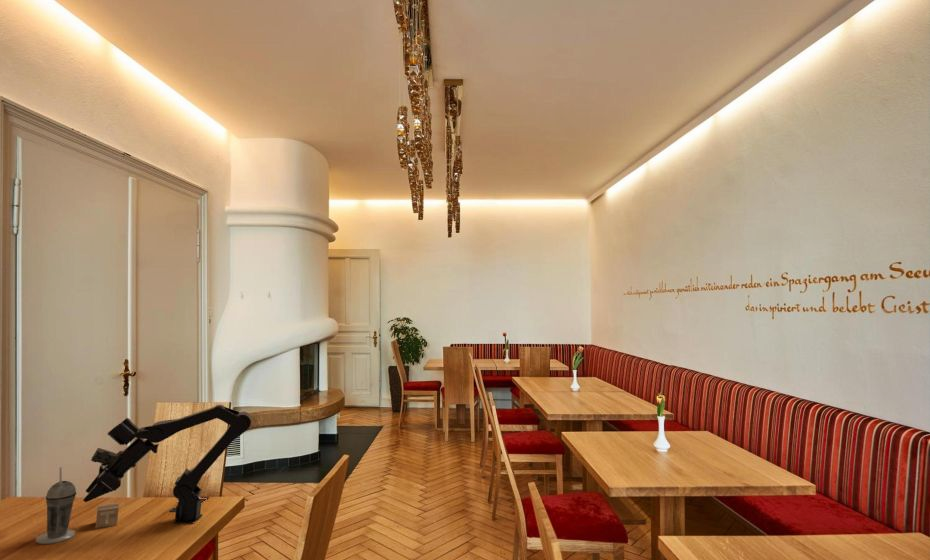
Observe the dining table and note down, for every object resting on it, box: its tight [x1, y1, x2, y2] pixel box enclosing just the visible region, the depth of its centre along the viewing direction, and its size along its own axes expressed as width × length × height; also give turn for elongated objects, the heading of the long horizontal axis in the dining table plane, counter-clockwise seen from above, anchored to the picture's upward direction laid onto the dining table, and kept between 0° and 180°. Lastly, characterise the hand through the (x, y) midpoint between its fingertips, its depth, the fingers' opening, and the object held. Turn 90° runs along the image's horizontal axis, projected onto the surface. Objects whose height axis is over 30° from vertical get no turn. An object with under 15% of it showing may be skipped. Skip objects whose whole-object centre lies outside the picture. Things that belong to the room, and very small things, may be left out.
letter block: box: [95, 501, 120, 529], centre depth 159 cm, size 6×6×6 cm
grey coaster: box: [35, 528, 76, 545], centre depth 148 cm, size 9×9×1 cm
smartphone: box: [168, 495, 210, 513], centre depth 178 cm, size 7×1×15 cm
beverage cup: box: [45, 466, 77, 538], centre depth 149 cm, size 7×7×20 cm
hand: (85, 496), depth 152 cm, fingers open, 9 cm apart
